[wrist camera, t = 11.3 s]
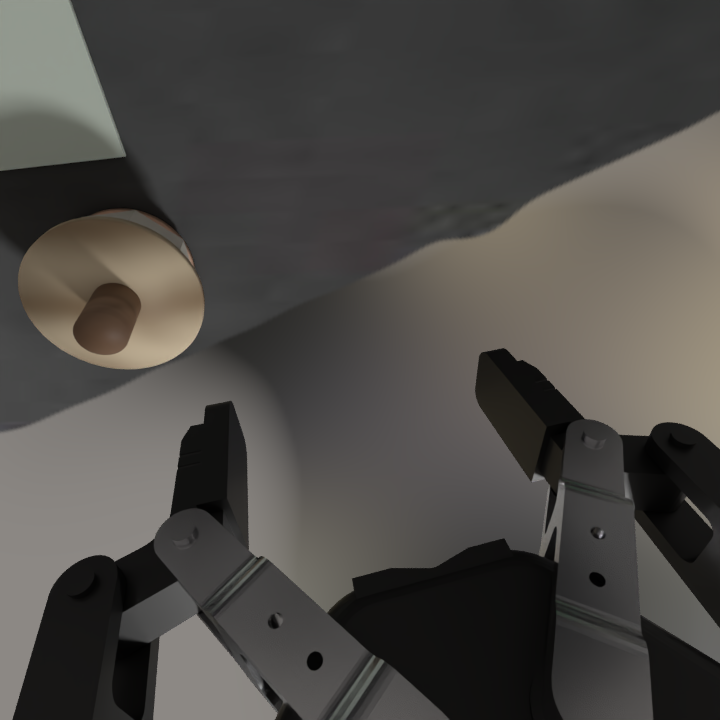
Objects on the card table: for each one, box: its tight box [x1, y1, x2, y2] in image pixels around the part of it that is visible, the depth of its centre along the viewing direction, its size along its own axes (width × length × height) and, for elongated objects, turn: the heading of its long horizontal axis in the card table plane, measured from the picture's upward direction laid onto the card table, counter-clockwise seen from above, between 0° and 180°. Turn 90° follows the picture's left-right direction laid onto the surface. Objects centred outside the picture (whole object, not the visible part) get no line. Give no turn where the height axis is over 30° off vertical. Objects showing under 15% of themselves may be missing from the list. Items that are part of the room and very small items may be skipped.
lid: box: [18, 216, 205, 369], centre depth 30 cm, size 12×12×6 cm
